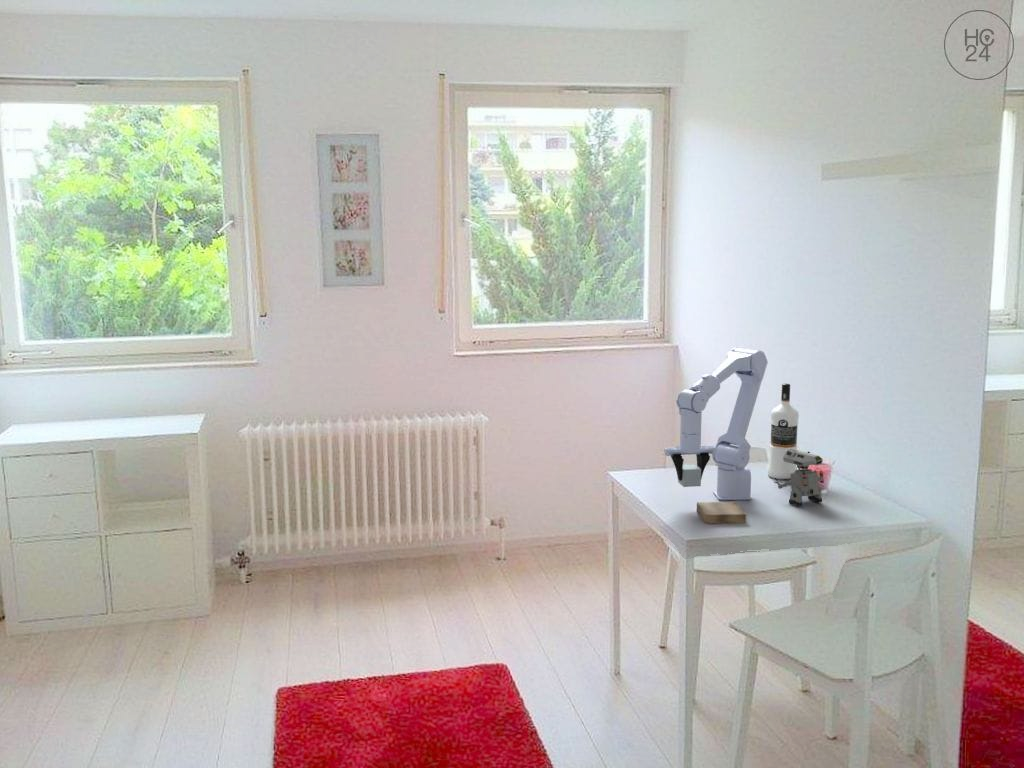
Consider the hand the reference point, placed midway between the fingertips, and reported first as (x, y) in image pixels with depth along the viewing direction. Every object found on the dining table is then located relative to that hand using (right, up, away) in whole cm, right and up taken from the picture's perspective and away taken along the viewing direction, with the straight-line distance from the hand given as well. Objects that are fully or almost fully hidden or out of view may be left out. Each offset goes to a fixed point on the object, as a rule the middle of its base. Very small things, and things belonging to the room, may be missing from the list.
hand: (689, 479), depth 261 cm
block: (0, -1, 0) cm, 1 cm away
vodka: (+36, -3, +33) cm, 49 cm away
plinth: (+7, -10, -7) cm, 14 cm away
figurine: (+33, -7, +6) cm, 34 cm away
